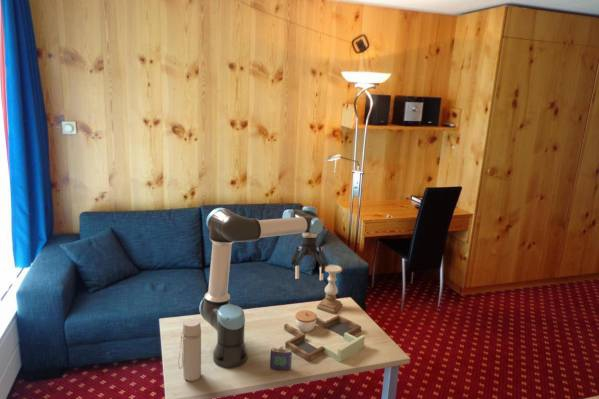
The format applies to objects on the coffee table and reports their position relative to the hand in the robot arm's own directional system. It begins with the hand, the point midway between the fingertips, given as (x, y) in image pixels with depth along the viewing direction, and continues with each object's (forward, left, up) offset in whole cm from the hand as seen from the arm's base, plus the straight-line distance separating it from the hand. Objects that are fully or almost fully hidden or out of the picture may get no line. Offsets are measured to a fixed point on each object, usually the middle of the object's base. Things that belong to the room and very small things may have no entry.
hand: (309, 279), depth 225 cm
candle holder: (+18, +14, -25) cm, 34 cm away
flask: (-22, -34, -25) cm, 48 cm away
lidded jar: (-2, -5, -25) cm, 26 cm away
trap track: (+4, -15, -25) cm, 29 cm away
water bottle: (-60, -32, -25) cm, 72 cm away
